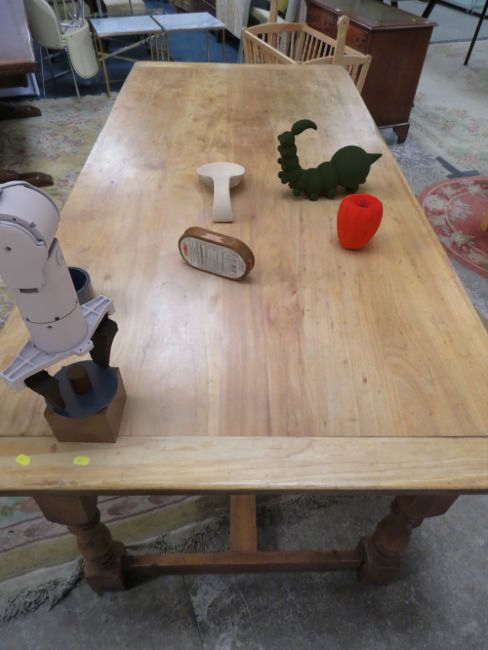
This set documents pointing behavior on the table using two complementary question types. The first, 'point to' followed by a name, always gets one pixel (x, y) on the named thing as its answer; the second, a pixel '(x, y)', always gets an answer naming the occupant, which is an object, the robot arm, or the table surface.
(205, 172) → the spoon rest
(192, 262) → the tin
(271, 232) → the table surface
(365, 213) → the apple
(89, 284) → the grey short cylinder
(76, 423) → the riser
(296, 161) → the toy figurine
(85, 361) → the tin lid
